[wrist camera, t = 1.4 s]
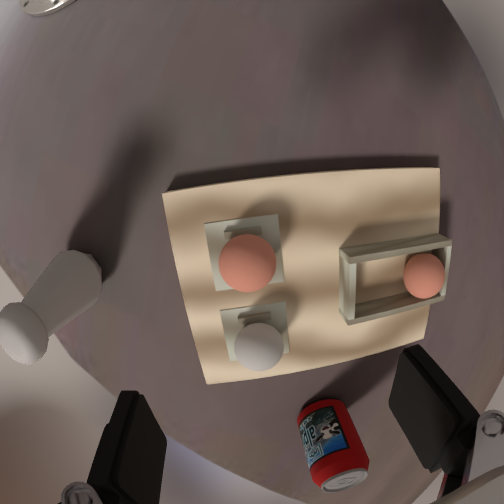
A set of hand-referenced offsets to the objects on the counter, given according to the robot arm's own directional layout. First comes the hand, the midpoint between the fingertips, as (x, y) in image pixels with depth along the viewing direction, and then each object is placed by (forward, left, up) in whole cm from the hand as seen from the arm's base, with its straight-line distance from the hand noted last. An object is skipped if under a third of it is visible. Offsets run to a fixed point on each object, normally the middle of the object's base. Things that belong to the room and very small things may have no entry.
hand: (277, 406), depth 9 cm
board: (+4, +7, -18) cm, 19 cm away
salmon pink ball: (0, 0, -16) cm, 16 cm away
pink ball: (+4, +17, -16) cm, 23 cm away
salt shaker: (0, -16, -18) cm, 24 cm away
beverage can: (+24, +7, -18) cm, 31 cm away
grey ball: (+8, 0, -16) cm, 18 cm away
